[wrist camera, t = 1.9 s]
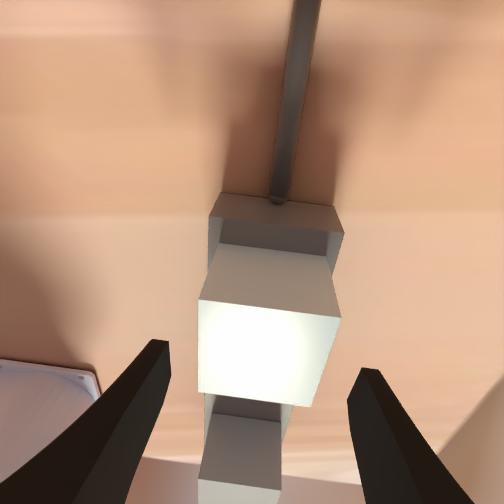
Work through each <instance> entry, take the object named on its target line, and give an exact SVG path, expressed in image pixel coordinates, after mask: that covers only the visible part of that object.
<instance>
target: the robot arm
mask: <svg viewBox="0 0 504 504" xmlns="http://www.w3.org/2000/svg"><path fill="white" fill-rule="evenodd" d="M170 378H171V365H170V352H169V341H164V340H156V339H152V340H150V341H149V343H148V344H147V345H146V346H145V347H144V349H143V350H142V351H141V352H140V353H139V355H138V356H137V357H136V358H135V359H134V360H133V362H132V363H131V364H130V365H129V366H128V367H127V368H126V370H125V371H124V372H123V373H122V374H121V375H120V376H119V377H118V378H117V379H116V380H115V381H114V383H113V384H112V385H111V386H110V387H109V388H108V389H107V390H106V391H105V392H104V393H103V394H102V395H100V392H99V388H98V385H97V381H96V378H95V375H94V373H92V372H90V371H85V370H77V369H70V368H63V367H55V366H48V365H41V364H33V363H26V362H19V361H11V360H4V359H0V504H125V501H126V498H127V494H128V492H129V488H130V486H131V483H132V480H133V477H134V475H135V472H136V469H137V466H138V464H139V462H140V459H141V457H142V454H143V452H144V450H145V447H146V445H147V442H148V440H149V437H150V435H151V432H152V430H153V428H154V425H155V423H156V420H157V418H158V415H159V413H160V410H161V408H162V405H163V402H164V399H165V396H166V392H167V389H168V386H169V382H170ZM347 405H348V416H349V425H350V432H351V437H352V441H353V446H354V451H355V456H356V460H357V465H358V469H359V474H360V478H361V483H362V487H363V492H364V496H365V501H366V504H474V503H473V501H472V500H471V499H470V498H469V496H468V495H467V494H466V493H465V492H464V490H463V489H462V488H461V487H460V485H459V484H458V483H457V482H456V480H455V479H454V478H453V477H452V475H451V474H450V473H449V471H448V470H447V469H446V468H445V466H444V465H443V464H442V462H441V461H440V459H439V458H438V457H437V455H436V454H435V453H434V451H433V450H432V449H431V447H430V446H429V444H428V443H427V442H426V440H425V439H424V437H423V436H422V435H421V433H420V432H419V430H418V429H417V427H416V426H415V424H414V423H413V422H412V420H411V419H410V417H409V416H408V414H407V413H406V411H405V410H404V408H403V407H402V405H401V403H400V402H399V400H398V399H397V397H396V396H395V394H394V393H393V391H392V390H391V388H390V386H389V385H388V383H387V382H386V380H385V379H384V377H383V375H382V374H381V372H380V371H379V370H377V369H370V368H361V370H360V373H359V375H358V377H357V379H356V381H355V384H354V386H353V388H352V390H351V392H350V394H349V397H348V399H347Z"/></svg>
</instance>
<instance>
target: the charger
mask: <svg viewBox="0 0 504 504" xmlns="http://www.w3.org/2000/svg"><path fill="white" fill-rule="evenodd" d="M340 321H341V314H340V310H339V306H338V302H337V298H336V293H335V289H334V285H333V281H332V277H331V273H330V269H329V265H328V261H327V257H326V256H318V255H310V254H303V253H295V252H287V251H279V250H271V249H263V248H255V247H247V246H239V245H231V244H223V243H219V244H218V247H217V250H216V252H215V255H214V258H213V261H212V264H211V266H210V269H209V272H208V275H207V277H206V280H205V283H204V286H203V288H202V291H201V294H200V297H199V314H198V392H203V393H210V394H217V395H225V396H232V397H239V398H247V399H254V400H261V401H269V402H276V403H283V404H291V405H298V406H305V407H311V404H312V401H313V398H314V395H315V392H316V390H317V387H318V384H319V381H320V378H321V375H322V372H323V370H324V367H325V364H326V361H327V358H328V355H329V352H330V350H331V347H332V344H333V341H334V338H335V335H336V332H337V330H338V327H339V324H340Z"/></svg>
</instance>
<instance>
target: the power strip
mask: <svg viewBox="0 0 504 504" xmlns="http://www.w3.org/2000/svg"><path fill="white" fill-rule="evenodd" d="M320 5H321V0H294V3H293V11H292V18H291V26H290V33H289V41H288V49H287V56H286V64H285V71H284V79H283V87H282V94H281V102H280V109H279V117H278V124H277V132H276V140H275V147H274V155H273V162H272V170H271V178H270V185H269V193H268V195H269V198H270V199H269V198H261V197H253V196H244V195H236V194H228V193H220V195H219V197H218V199H217V201H216V203H215V205H214V207H213V209H212V211H211V213H210V215H209V232H208V272H209V269H210V266H211V264H212V261H213V258H214V255H215V252H216V250H217V247H218V244H219V243H223V244H231V245H239V246H247V247H255V248H263V249H271V250H279V251H287V252H295V253H303V254H310V255H318V256H326V257H327V261H328V265H329V269H330V273H331V277H332V274H333V270H334V267H335V264H336V260H337V257H338V253H339V250H340V247H341V243H342V240H343V237H344V230H343V228H342V225H341V223H340V220H339V218H338V215H337V213H336V210H335V208H334V206H326V205H318V204H310V203H302V202H293V201H286V199H287V198H288V194H289V188H290V182H291V176H292V170H293V164H294V159H295V153H296V147H297V141H298V135H299V129H300V123H301V117H302V111H303V105H304V100H305V94H306V88H307V82H308V76H309V70H310V64H311V58H312V52H313V46H314V41H315V35H316V29H317V23H318V17H319V11H320ZM292 409H293V405H291V404H283V403H276V402H269V401H261V400H254V399H247V398H239V397H232V396H225V395H217V394H210V393H205V418H204V452H203V457H202V462H201V467H200V472H199V477H198V504H277V502H278V499H279V496H280V493H281V446H282V443H283V439H284V436H285V432H286V429H287V426H288V422H289V419H290V416H291V412H292Z"/></svg>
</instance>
